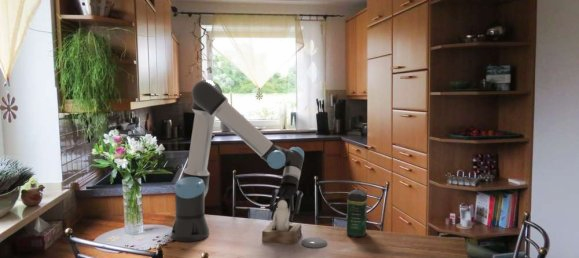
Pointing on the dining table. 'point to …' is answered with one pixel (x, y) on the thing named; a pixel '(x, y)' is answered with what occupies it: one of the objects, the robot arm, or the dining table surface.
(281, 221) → the pepper mill
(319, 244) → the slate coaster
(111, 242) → the dining table surface
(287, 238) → the walnut holder
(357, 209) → the coffee jar
